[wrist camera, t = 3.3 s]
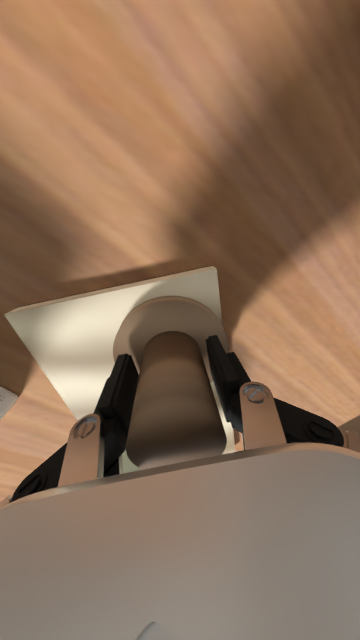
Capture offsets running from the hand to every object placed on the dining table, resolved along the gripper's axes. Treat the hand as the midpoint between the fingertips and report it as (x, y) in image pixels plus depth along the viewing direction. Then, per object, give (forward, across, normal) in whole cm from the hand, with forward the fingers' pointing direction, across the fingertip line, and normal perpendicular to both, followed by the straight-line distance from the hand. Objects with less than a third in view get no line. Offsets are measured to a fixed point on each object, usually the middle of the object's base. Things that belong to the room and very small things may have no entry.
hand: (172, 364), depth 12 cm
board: (+3, +3, +6) cm, 7 cm away
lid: (+2, 0, 0) cm, 2 cm away
